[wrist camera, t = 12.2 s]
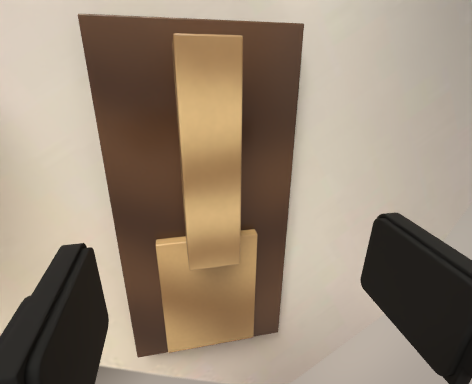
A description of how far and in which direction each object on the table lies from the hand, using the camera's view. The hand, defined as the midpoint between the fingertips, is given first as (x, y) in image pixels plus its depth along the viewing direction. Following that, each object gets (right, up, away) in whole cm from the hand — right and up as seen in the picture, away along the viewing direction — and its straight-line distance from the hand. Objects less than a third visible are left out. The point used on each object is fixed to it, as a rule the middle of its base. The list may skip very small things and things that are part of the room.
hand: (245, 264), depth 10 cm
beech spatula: (-2, 0, +10) cm, 11 cm away
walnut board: (-3, +1, +12) cm, 12 cm away
